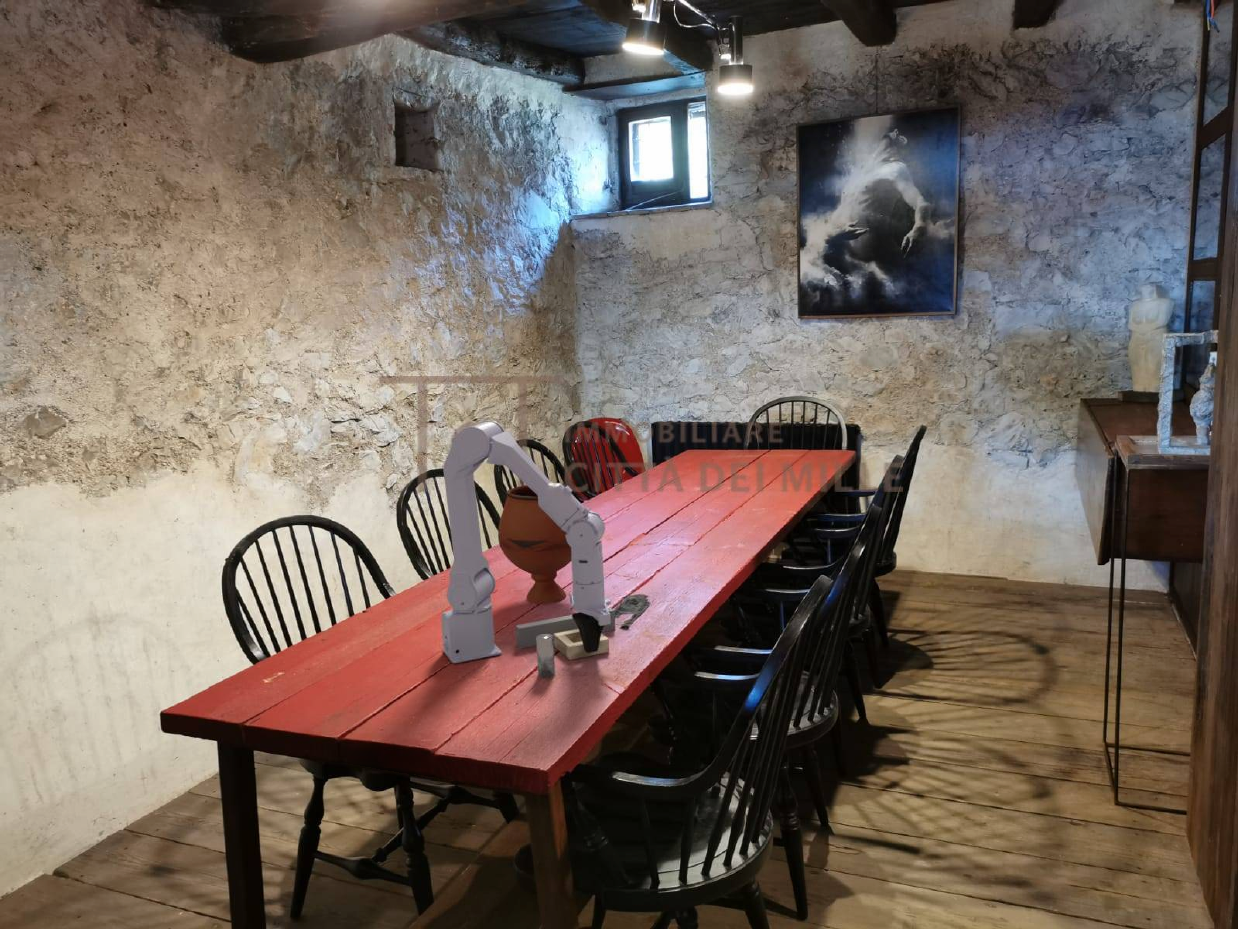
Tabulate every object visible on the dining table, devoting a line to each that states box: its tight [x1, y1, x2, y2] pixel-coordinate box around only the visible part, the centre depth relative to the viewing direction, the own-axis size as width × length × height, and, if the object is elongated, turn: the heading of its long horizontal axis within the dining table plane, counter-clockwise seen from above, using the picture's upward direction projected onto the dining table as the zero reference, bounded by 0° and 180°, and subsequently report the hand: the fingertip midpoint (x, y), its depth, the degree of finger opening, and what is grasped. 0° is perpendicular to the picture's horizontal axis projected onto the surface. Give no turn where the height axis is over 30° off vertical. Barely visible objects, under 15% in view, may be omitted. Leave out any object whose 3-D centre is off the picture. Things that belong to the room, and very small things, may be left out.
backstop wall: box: [515, 607, 616, 649], centre depth 180 cm, size 20×2×4 cm, turn 115°
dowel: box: [536, 634, 556, 679], centre depth 162 cm, size 3×3×7 cm
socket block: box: [553, 629, 610, 661], centre depth 173 cm, size 8×8×2 cm
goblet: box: [497, 483, 573, 605], centre depth 203 cm, size 19×19×25 cm
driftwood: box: [613, 593, 651, 629], centre depth 194 cm, size 21×7×2 cm, turn 160°
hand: (591, 651), depth 169 cm, fingers closed
